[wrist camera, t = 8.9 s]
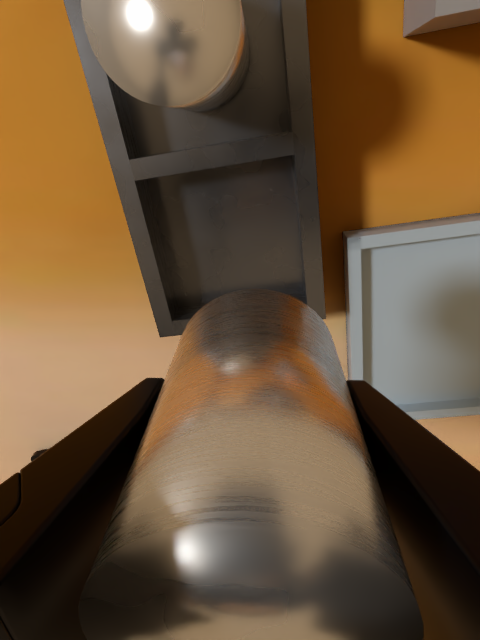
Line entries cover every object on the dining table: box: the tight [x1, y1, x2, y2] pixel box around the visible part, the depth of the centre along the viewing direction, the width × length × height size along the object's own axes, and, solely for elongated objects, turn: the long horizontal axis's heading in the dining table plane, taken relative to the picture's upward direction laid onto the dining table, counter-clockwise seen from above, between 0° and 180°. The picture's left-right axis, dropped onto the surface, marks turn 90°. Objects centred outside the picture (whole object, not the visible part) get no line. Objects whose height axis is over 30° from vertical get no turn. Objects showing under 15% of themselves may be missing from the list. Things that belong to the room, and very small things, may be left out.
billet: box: [79, 289, 424, 640], centre depth 7 cm, size 4×4×6 cm
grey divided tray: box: [64, 0, 326, 337], centre depth 16 cm, size 15×8×3 cm, turn 9°
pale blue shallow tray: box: [343, 213, 480, 420], centre depth 20 cm, size 11×9×1 cm
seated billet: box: [81, 0, 249, 112], centre depth 12 cm, size 4×4×6 cm
